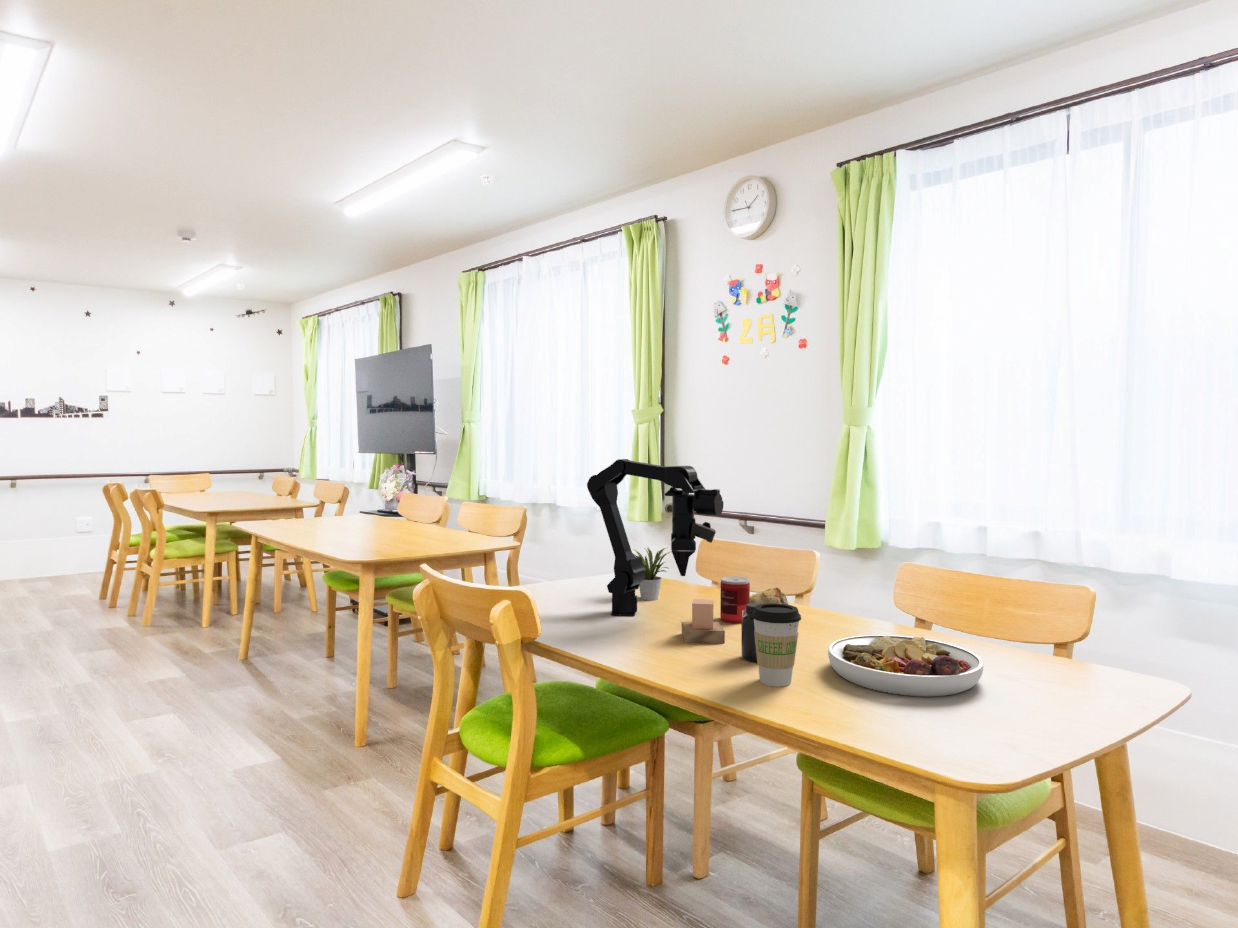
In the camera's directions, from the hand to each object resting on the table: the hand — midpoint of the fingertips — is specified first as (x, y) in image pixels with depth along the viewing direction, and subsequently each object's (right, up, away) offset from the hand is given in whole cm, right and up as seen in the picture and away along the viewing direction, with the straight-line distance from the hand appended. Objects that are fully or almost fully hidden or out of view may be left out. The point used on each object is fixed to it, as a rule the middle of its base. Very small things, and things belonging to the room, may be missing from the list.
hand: (682, 572), depth 207 cm
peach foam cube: (+4, -11, -16) cm, 20 cm away
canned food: (+14, -13, +3) cm, 19 cm away
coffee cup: (+15, -15, -48) cm, 53 cm away
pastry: (+24, -13, +8) cm, 28 cm away
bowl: (+42, -16, -44) cm, 63 cm away
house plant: (-6, -12, +29) cm, 32 cm away
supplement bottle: (+14, -15, -32) cm, 38 cm away
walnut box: (+4, -14, -16) cm, 22 cm away
